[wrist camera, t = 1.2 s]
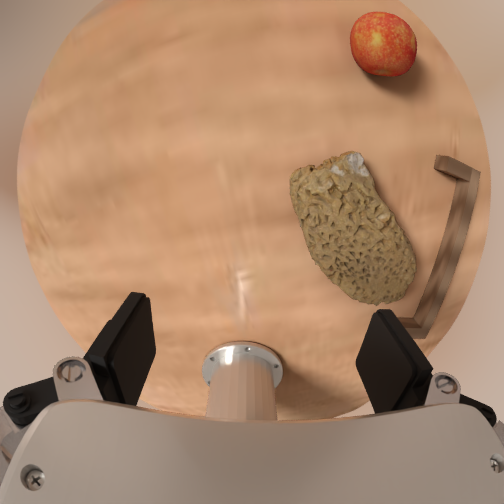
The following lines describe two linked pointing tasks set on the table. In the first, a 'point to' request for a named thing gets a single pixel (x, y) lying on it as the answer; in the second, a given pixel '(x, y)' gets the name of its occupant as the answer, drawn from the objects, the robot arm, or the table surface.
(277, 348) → the table surface
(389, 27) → the apple
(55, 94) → the table surface
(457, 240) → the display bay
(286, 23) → the table surface
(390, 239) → the sponge
